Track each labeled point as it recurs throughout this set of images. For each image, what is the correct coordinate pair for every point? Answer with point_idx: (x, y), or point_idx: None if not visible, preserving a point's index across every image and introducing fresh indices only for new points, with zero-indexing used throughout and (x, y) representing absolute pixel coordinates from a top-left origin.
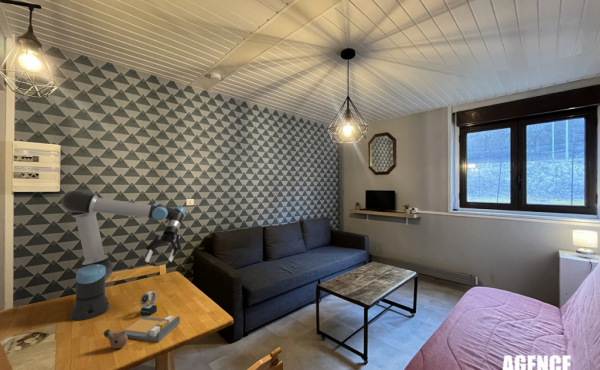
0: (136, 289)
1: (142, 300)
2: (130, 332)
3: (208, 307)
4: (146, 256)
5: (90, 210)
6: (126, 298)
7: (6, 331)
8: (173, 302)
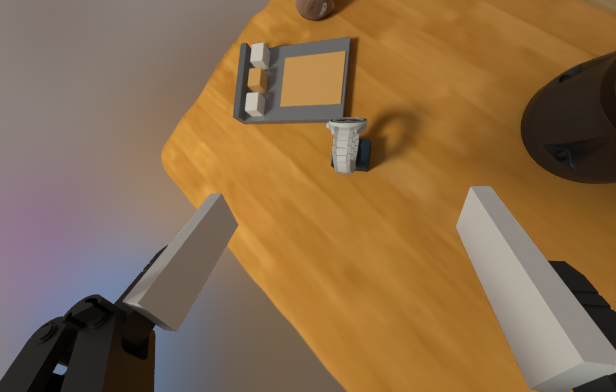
0: None
1: (357, 120)
2: (322, 49)
3: None
4: (516, 223)
5: None
6: None
7: None
8: (316, 227)
